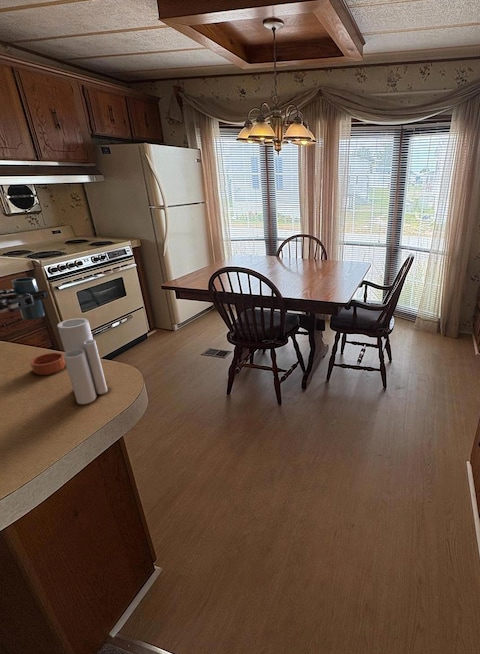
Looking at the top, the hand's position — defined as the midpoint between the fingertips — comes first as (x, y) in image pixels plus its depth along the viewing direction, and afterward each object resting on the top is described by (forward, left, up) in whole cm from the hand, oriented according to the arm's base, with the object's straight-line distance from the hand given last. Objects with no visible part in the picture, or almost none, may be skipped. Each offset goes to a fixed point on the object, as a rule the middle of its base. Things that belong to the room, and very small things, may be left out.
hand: (38, 292), depth 90 cm
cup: (-2, -2, -6) cm, 7 cm away
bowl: (-6, +9, -27) cm, 29 cm away
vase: (+8, -9, -27) cm, 30 cm away
